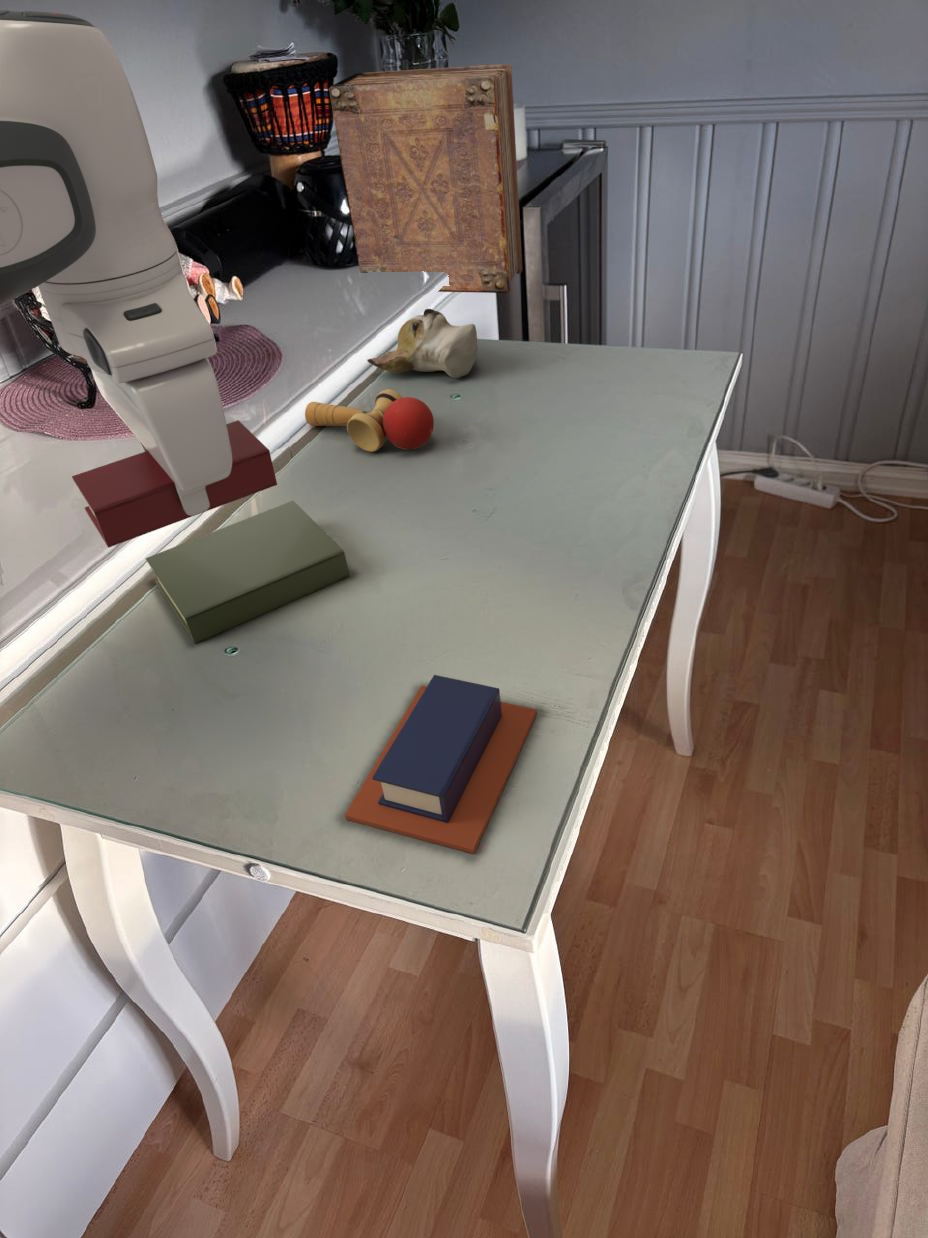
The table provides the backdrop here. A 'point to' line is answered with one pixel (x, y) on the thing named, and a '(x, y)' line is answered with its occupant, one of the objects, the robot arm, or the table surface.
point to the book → (432, 173)
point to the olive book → (247, 569)
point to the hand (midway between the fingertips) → (180, 490)
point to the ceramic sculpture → (431, 347)
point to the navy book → (439, 748)
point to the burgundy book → (166, 488)
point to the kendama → (379, 421)
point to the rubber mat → (475, 798)
